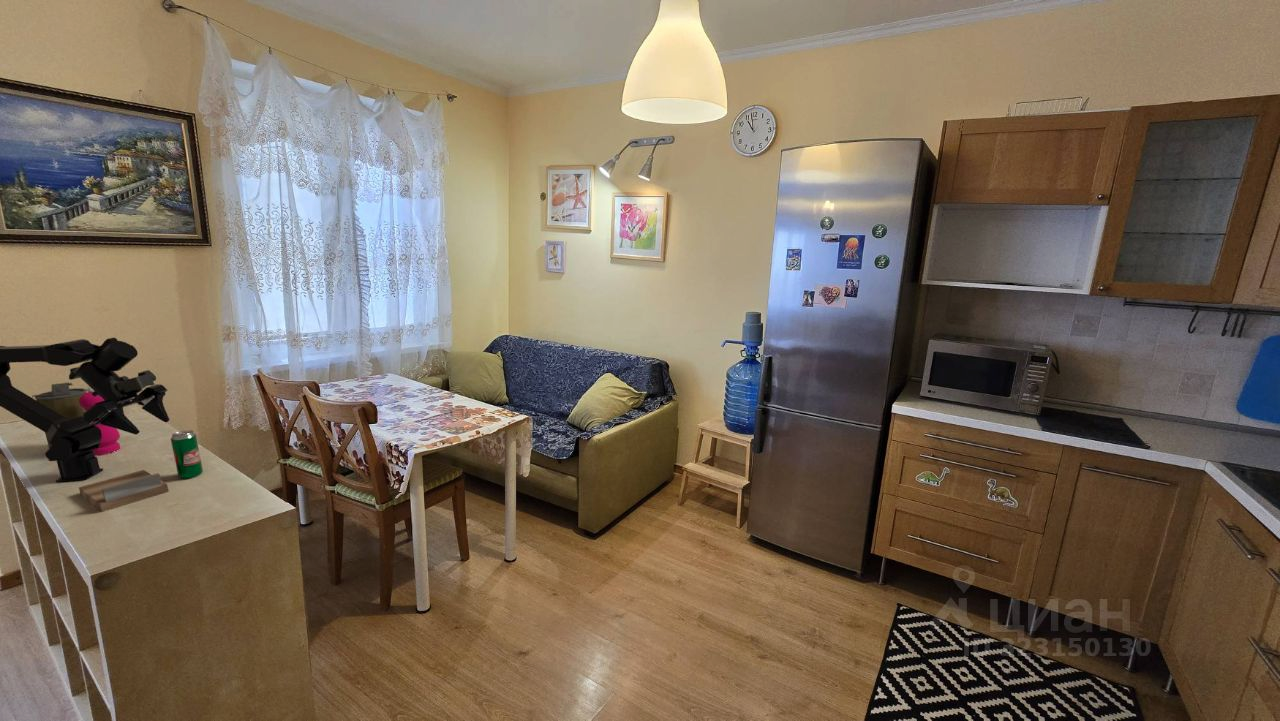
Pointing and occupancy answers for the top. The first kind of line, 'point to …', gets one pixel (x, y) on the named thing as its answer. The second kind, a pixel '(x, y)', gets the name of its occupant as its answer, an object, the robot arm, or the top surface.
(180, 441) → the soda can
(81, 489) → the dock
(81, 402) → the pepper mill
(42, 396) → the canister
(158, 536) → the top surface
